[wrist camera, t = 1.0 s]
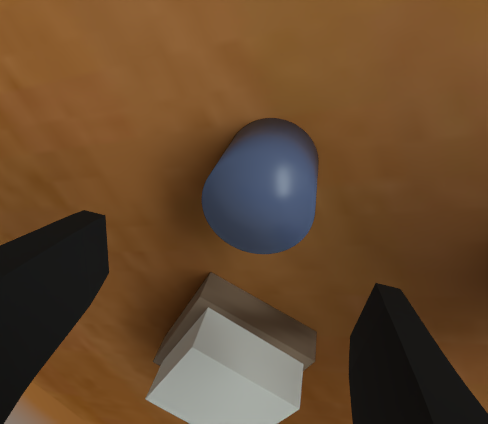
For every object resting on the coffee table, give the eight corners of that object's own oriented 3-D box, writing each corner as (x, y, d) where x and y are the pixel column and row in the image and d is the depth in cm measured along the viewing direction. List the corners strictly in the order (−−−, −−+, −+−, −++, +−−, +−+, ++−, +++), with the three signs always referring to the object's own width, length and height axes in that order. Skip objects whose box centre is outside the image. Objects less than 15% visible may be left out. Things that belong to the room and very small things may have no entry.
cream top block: (303, 363, 20) (299, 409, 17) (246, 407, 23) (237, 449, 21) (208, 307, 19) (192, 346, 17) (163, 360, 22) (145, 399, 20)
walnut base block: (317, 324, 21) (315, 361, 19) (257, 378, 25) (250, 413, 23) (213, 265, 21) (200, 296, 19) (168, 329, 24) (152, 361, 22)
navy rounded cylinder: (337, 150, 15) (339, 196, 12) (286, 216, 17) (275, 271, 14) (255, 99, 15) (233, 131, 11) (213, 173, 17) (184, 218, 14)
